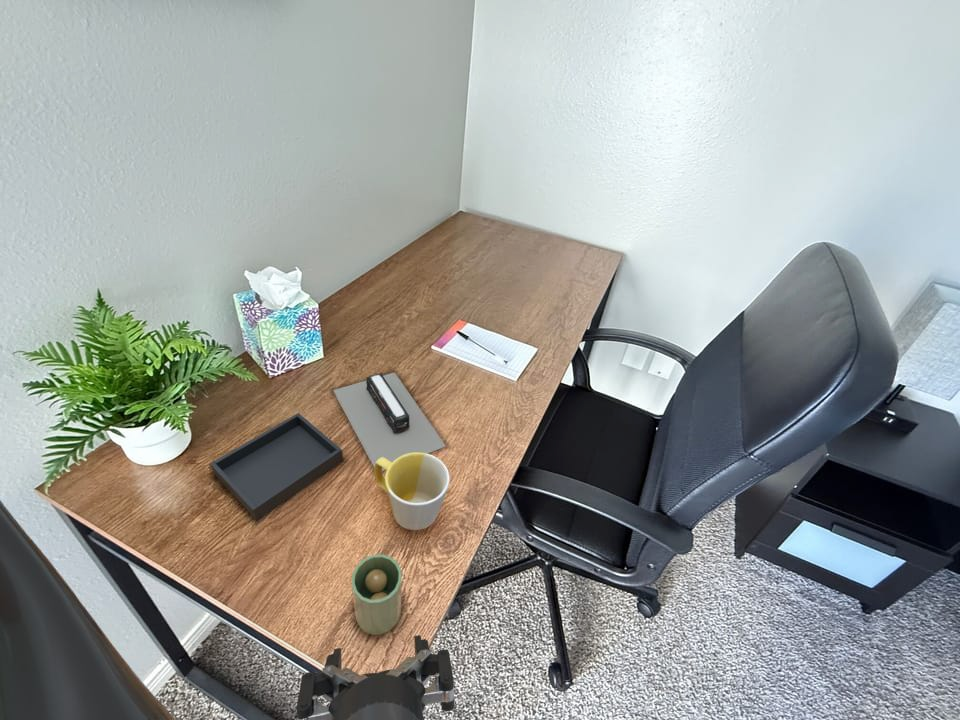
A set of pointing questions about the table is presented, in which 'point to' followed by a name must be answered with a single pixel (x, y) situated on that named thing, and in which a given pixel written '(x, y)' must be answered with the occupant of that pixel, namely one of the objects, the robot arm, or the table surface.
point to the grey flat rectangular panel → (387, 418)
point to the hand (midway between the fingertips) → (378, 650)
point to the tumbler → (378, 612)
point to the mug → (414, 487)
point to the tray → (276, 464)
